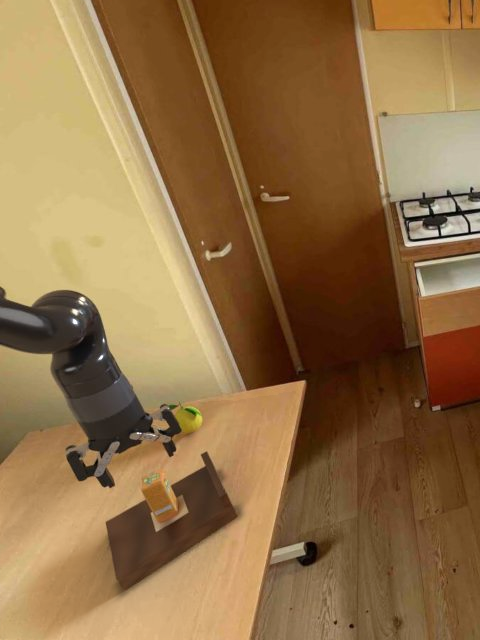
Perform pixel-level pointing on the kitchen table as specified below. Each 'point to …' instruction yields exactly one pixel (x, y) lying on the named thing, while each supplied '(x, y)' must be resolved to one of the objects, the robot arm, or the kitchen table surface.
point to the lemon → (187, 418)
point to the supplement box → (159, 496)
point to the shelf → (168, 526)
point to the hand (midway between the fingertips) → (142, 468)
